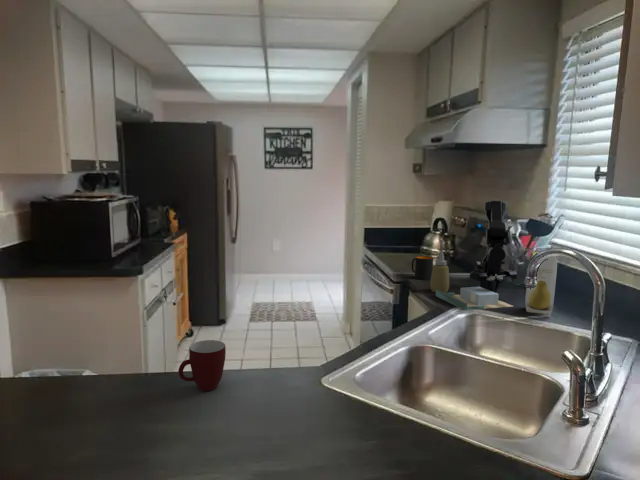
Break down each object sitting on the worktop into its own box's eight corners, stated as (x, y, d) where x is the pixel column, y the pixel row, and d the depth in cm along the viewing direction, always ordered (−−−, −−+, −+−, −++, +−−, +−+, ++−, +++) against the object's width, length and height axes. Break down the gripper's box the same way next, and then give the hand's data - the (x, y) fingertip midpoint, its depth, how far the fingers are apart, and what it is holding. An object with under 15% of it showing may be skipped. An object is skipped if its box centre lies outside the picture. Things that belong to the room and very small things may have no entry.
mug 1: (187, 402, 101) (186, 358, 99) (174, 388, 107) (173, 346, 106) (231, 389, 107) (231, 348, 105) (216, 377, 113) (216, 337, 112)
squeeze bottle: (450, 296, 195) (453, 254, 192) (431, 295, 195) (434, 253, 192) (446, 291, 203) (448, 251, 200) (427, 291, 203) (430, 250, 200)
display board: (481, 295, 197) (481, 287, 196) (513, 309, 178) (514, 300, 178) (435, 298, 190) (436, 290, 190) (464, 313, 171) (465, 303, 171)
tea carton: (478, 296, 192) (479, 286, 191) (498, 304, 181) (499, 294, 180) (459, 297, 189) (460, 287, 189) (478, 305, 178) (479, 295, 177)
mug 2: (417, 274, 237) (418, 254, 235) (435, 279, 227) (436, 258, 226) (405, 276, 232) (406, 255, 230) (423, 281, 222) (425, 259, 221)
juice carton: (524, 315, 171) (530, 250, 168) (523, 309, 178) (529, 247, 175) (552, 318, 168) (559, 253, 164) (550, 312, 175) (557, 249, 171)
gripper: (500, 253, 195) (497, 290, 197) (462, 255, 189) (460, 292, 191) (519, 258, 184) (516, 296, 186) (480, 260, 178) (477, 299, 180)
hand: (492, 296), depth 186 cm, fingers closed
